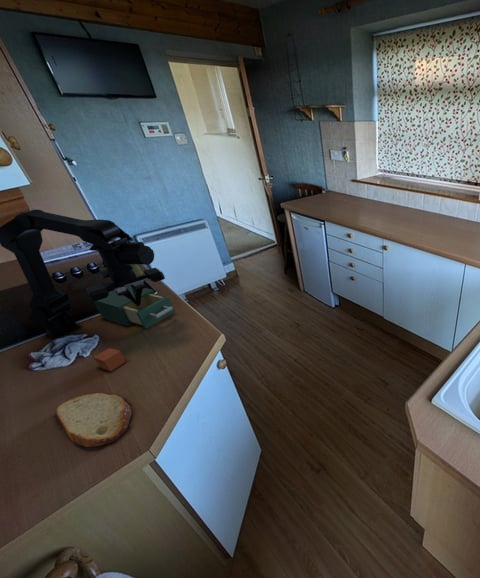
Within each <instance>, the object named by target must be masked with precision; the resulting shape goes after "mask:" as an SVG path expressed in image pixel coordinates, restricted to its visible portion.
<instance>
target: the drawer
mask: <svg viewBox="0 0 480 578" xmlns="http://www.w3.org/2000/svg"><path fill="white" fill-rule="evenodd" d="M122 310H123V312H124V314H125V316H126V317H127V319H128V321H130V322H133V323H134V324H137V325H141V326H142V327H143V329H149V328H150V327H152V326H154V325H155V324H157V323H158V322H160V321H162V320H163V319H165V318H167V317H168V316H170V315H172V314H173V313H175V312H176V309H175V307H174V305H173V303H172V301H171V298H170V296H164V297H163V296H161V295H157V294H155V295H153V294H148V295H146V296H144V297H142V298H141V304H140V306H137V305H136V304H134V303H133V302H132V303H130V304H128V305H126V306H124V307H122Z"/></svg>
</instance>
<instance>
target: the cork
mask: <svg viewBox="0 0 480 578" xmlns="http://www.w3.org/2000/svg"><path fill="white" fill-rule="evenodd" d="M131 265H132V267H133V269H134V272H135V274H136V276H141V275H144V271H142V269H141V267H140V266H139V264H131Z"/></svg>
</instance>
